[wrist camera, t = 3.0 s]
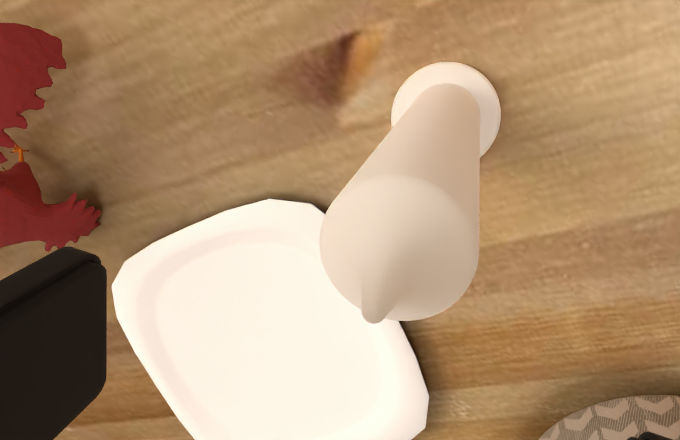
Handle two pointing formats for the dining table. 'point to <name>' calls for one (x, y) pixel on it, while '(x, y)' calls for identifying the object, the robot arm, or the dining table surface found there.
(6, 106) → the decorative bird sculpture
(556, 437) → the planter
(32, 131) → the dining table surface
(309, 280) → the plate
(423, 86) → the candle
